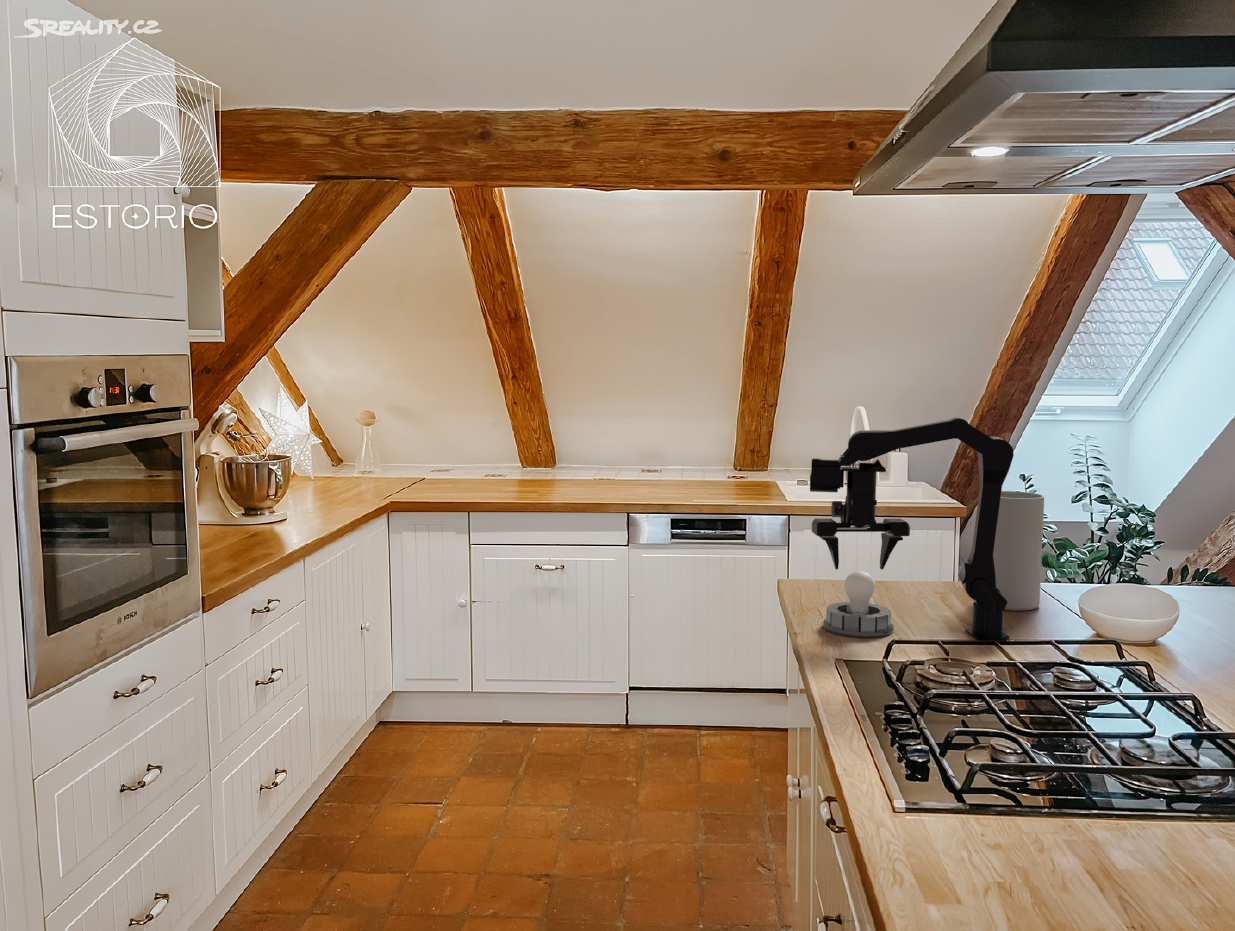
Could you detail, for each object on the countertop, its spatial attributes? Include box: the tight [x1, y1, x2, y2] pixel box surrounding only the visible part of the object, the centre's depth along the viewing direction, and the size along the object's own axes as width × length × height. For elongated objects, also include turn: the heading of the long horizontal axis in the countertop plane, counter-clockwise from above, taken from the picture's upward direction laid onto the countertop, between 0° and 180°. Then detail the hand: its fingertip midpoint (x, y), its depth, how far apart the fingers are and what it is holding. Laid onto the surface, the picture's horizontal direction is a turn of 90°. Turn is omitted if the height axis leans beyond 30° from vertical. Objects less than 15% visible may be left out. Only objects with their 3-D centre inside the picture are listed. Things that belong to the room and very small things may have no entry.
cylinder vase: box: [993, 490, 1045, 612], centre depth 217 cm, size 12×12×25 cm
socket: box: [822, 601, 895, 639], centre depth 199 cm, size 14×14×4 cm
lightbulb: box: [843, 570, 876, 615], centre depth 198 cm, size 6×6×11 cm
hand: (859, 569), depth 198 cm, fingers open, 9 cm apart
